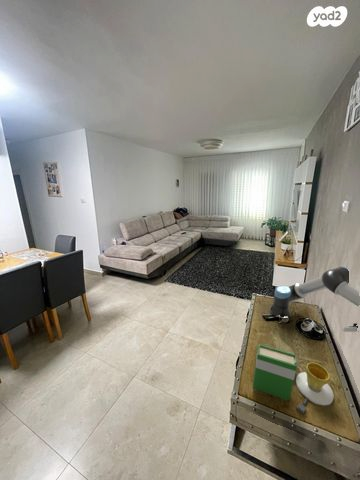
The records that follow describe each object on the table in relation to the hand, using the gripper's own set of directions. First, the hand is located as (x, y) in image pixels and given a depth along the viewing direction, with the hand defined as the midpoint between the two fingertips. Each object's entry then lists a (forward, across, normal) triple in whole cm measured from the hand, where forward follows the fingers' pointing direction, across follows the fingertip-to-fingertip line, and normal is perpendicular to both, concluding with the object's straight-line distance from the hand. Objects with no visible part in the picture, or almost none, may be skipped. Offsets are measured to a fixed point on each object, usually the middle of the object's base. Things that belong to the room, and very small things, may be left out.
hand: (354, 338), depth 102 cm
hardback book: (+41, -4, -30) cm, 51 cm away
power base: (+21, -7, -30) cm, 38 cm away
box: (+28, +10, -30) cm, 43 cm away
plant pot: (+17, -3, -29) cm, 34 cm away
